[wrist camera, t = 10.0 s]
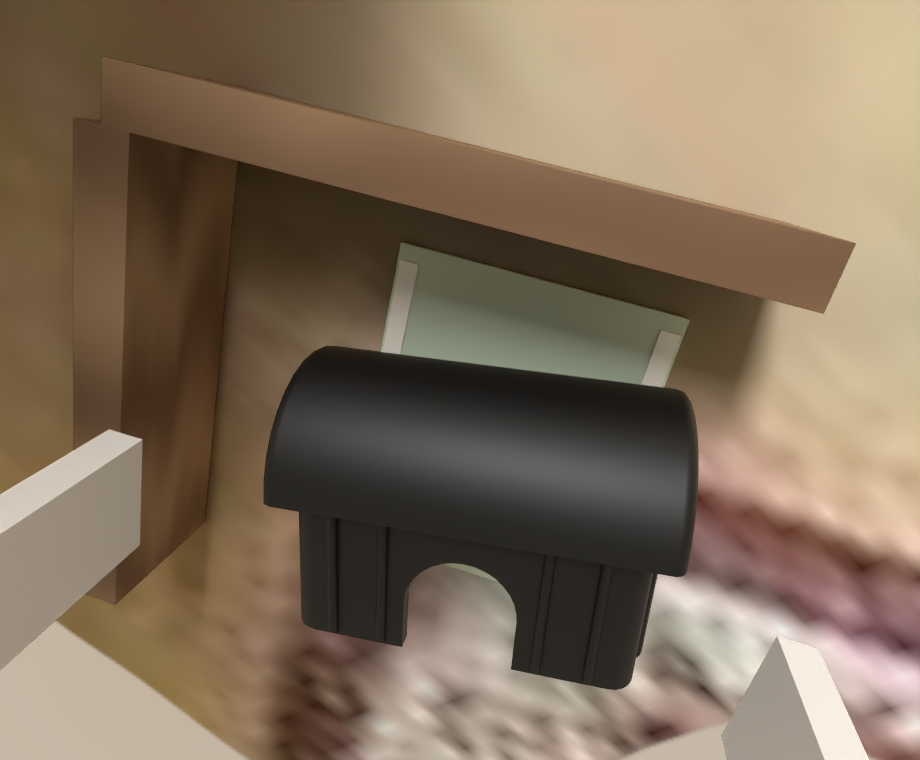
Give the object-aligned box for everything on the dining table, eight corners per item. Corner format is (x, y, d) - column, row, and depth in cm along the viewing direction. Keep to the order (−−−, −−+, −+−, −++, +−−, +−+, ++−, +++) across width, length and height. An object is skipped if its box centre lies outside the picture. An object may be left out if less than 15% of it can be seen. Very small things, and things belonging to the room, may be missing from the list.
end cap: (675, 354, 19) (718, 451, 12) (636, 554, 21) (656, 720, 15) (357, 317, 20) (252, 385, 14) (355, 506, 23) (265, 637, 16)
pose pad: (402, 241, 19) (399, 243, 19) (688, 318, 19) (690, 320, 18) (347, 529, 23) (344, 534, 23) (580, 605, 22) (580, 610, 22)
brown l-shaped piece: (199, 77, 19) (73, 49, 14) (784, 222, 17) (856, 243, 13) (170, 510, 25) (73, 590, 20) (606, 655, 23) (610, 779, 18)
